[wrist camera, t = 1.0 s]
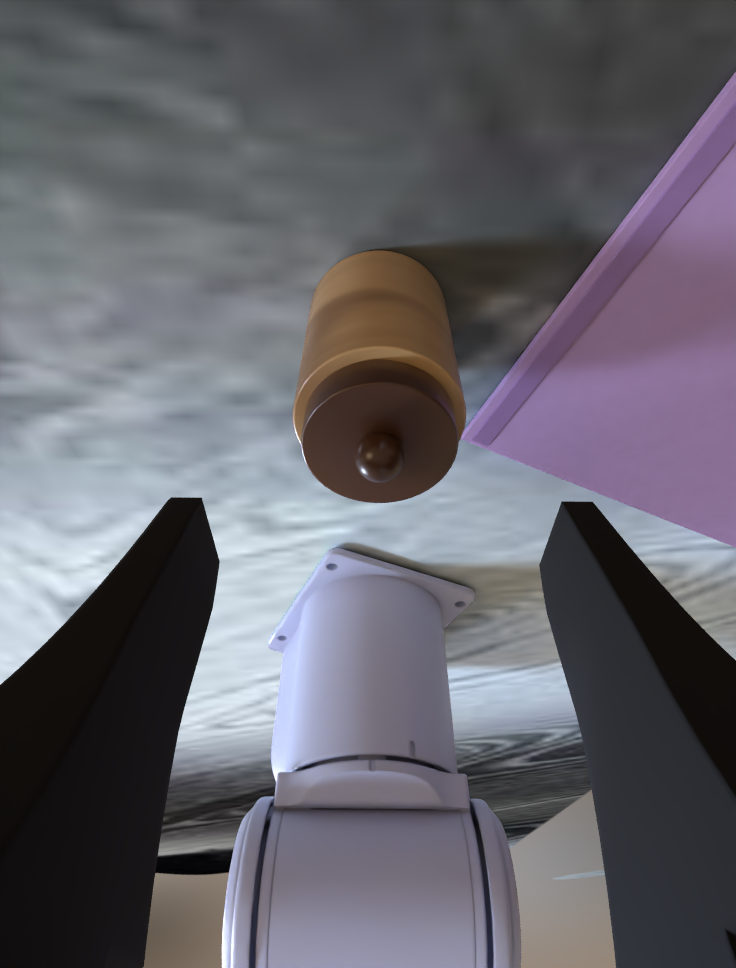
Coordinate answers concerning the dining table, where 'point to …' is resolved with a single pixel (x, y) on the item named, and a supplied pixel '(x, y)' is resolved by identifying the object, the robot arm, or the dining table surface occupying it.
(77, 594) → the dining table surface
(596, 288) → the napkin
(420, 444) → the salt mill
